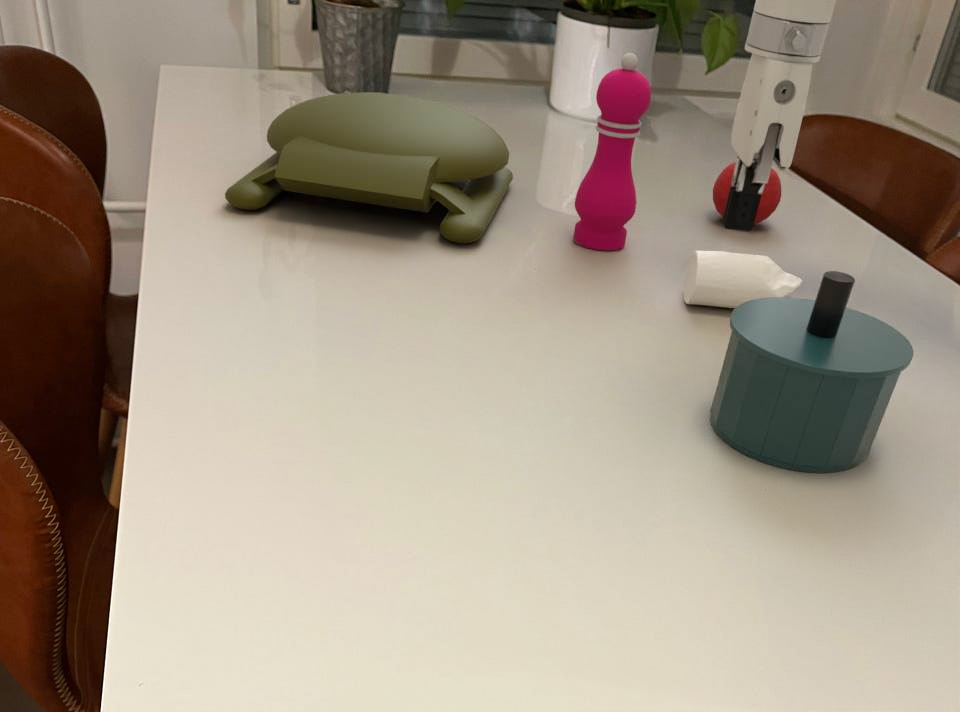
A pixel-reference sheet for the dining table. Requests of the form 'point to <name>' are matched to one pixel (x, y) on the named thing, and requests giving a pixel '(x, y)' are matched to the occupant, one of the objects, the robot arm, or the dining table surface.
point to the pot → (796, 412)
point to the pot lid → (822, 333)
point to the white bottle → (734, 279)
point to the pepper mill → (612, 160)
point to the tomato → (768, 197)
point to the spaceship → (384, 158)
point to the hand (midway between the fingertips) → (736, 227)
